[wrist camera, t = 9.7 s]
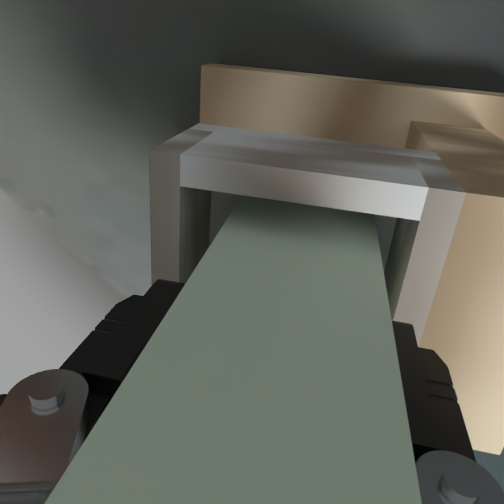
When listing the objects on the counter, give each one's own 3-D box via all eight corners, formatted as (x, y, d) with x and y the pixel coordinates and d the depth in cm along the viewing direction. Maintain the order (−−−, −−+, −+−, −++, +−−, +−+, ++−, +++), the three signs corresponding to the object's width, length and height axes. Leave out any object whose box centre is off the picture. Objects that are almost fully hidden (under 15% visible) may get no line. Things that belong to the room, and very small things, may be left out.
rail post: (373, 211, 13) (482, 871, 3) (348, 320, 15) (355, 971, 5) (244, 191, 14) (-76, 690, 3) (234, 299, 16) (6, 843, 5)
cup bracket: (526, 95, 19) (746, 163, 9) (460, 293, 24) (550, 499, 13) (213, 63, 21) (75, 85, 11) (206, 251, 26) (103, 401, 15)
